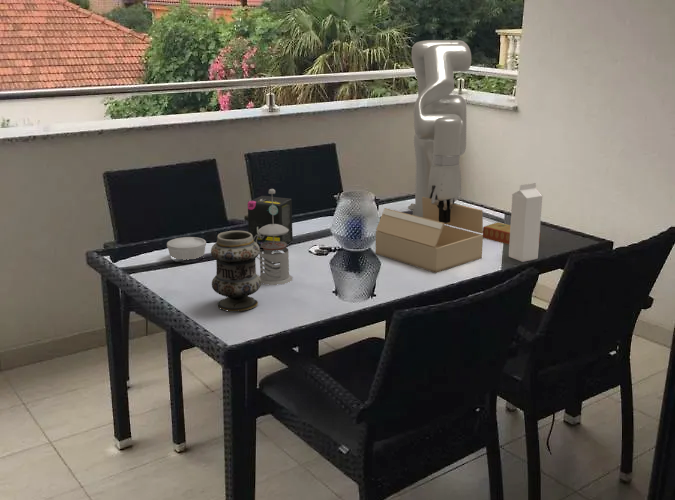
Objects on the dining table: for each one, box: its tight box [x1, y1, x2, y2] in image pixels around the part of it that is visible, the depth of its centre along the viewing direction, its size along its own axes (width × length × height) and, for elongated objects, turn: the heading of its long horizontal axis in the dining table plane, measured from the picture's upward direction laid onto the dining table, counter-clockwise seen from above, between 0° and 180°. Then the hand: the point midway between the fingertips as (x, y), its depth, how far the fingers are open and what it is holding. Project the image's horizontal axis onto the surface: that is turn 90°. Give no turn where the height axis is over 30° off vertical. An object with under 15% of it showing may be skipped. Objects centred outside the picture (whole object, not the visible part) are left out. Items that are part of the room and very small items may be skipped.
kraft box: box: [375, 224, 484, 274], centre depth 222 cm, size 24×20×7 cm
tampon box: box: [247, 195, 294, 246], centre depth 232 cm, size 11×9×15 cm
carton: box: [482, 221, 541, 245], centre depth 237 cm, size 8×16×4 cm, turn 43°
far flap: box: [422, 197, 484, 234], centre depth 226 cm, size 23×7×1 cm
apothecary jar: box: [210, 230, 262, 312], centre depth 184 cm, size 12×12×18 cm
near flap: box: [375, 207, 446, 247], centre depth 215 cm, size 23×7×1 cm
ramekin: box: [166, 236, 207, 260], centre depth 222 cm, size 11×11×5 cm
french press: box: [253, 188, 294, 286], centre depth 202 cm, size 10×12×25 cm
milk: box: [508, 182, 543, 263], centre depth 218 cm, size 6×6×22 cm
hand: (444, 221), depth 224 cm, fingers closed
